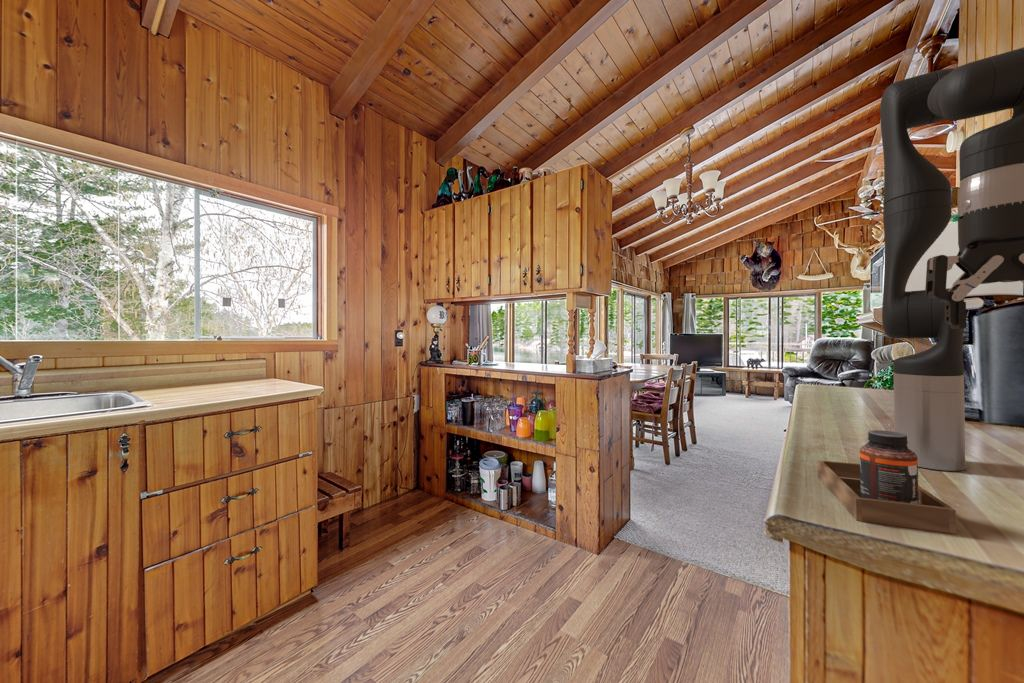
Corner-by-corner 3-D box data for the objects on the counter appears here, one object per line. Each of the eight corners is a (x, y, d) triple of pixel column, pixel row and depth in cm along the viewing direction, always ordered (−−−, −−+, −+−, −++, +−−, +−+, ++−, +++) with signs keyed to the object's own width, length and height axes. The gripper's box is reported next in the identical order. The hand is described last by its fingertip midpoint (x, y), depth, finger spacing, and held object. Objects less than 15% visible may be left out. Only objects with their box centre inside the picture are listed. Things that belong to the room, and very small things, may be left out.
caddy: (817, 476, 69) (817, 460, 69) (890, 484, 65) (889, 466, 65) (856, 520, 53) (856, 498, 53) (955, 533, 49) (955, 510, 49)
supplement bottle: (932, 523, 52) (930, 438, 52) (879, 520, 53) (878, 437, 53) (897, 504, 58) (895, 428, 57) (851, 502, 59) (849, 427, 59)
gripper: (1057, 205, 53) (1058, 325, 53) (914, 222, 59) (916, 329, 59) (1109, 187, 46) (1111, 325, 46) (942, 209, 52) (944, 329, 52)
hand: (1002, 327), depth 53 cm, fingers open, 8 cm apart
